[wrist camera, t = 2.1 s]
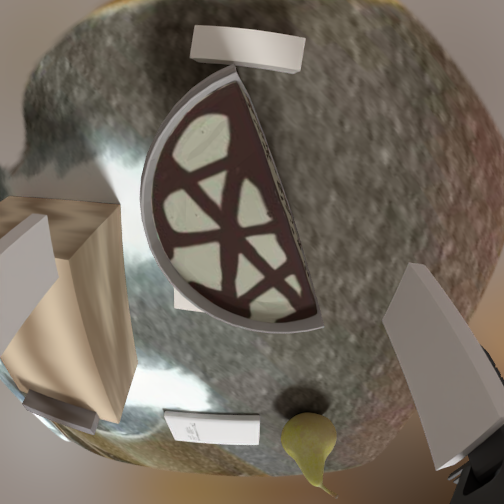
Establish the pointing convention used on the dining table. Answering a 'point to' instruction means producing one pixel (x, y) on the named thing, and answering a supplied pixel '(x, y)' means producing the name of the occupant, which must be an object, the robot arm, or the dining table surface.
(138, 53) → the dining table surface
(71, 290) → the wooden stand
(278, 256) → the food container
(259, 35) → the pair of white blocks
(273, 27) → the dining table surface
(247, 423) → the external hard drive
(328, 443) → the fruit
